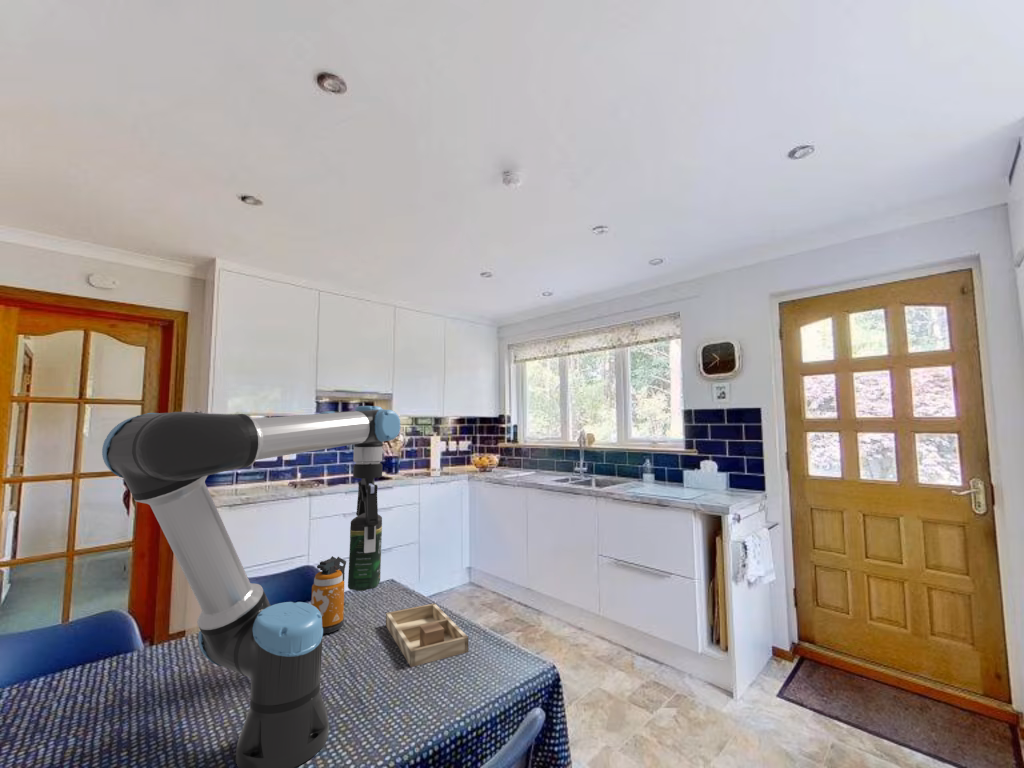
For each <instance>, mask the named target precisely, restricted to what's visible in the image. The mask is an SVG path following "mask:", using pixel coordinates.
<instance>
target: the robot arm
mask: <svg viewBox="0 0 1024 768" xmlns="http://www.w3.org/2000/svg"><path fill="white" fill-rule="evenodd" d="M400 431H401V418H400V417H399V415H398V413H397V412H396V411H394V410H392V409H383V408H382V407H381V406H378V405H359V406H356V407H355V409H354V410H353V411H349V410H348V411H334V410H331V411H328V410H327V411H322V412H320V413H316V414H304V415H303V414H301V415H285V416H273V417H272V416H271V417H259V418H258V417H257V418H253V417H252V416H250V415H249V414H246V413H234V414H233V413H232V414H231V413H230V414H228V413H227V414H226V413H225V414H223V413H222V414H220V413H206V412H194V411H193V412H192V411H172V412H160V413H159V412H147V413H144V414H139V415H135V416H131V417H130V418H127V419H125V420H123V421H121V422H120V423H118V424H116V425H115V426H114V427H113V428H112V429H111V430H110V431H109V432H108V433H107V435H106V437H105V440H104V442H103V444H102V450H101V455H102V460H103V462H104V464H105V466H106V467H107V469H108V470H109V471H111V473H113V474H114V475H116V476H117V477H119V478H122V479H123V480H124V483H125V484H126V486H127V488H128V490H129V493H131V496H132V498H133V499H134V501H135V503H136V502H138V503H142V504H147V505H149V506H150V508H151V510H152V512H153V514H154V517H155V518H156V520H157V522H158V524H159V526H160V529H161V531H162V532H163V535H164V537H165V538H166V540H167V541H166V542H167V543H168V545H169V547H170V549H171V550H172V553H173V554H174V556H175V558H176V561H177V563H178V565H179V566H180V568H181V571H182V572H183V575H184V577H185V579H186V581H187V583H188V585H189V586H190V589H191V591H192V593H193V594H194V597H195V599H196V601H197V603H198V605H199V607H200V609H201V612H200V614H199V615H198V618H197V626H198V628H199V630H200V631H198V638H197V639H198V646H199V649H200V651H201V653H202V655H203V656H204V657H205V658H206V659H207V660H208V661H209V662H210V663H212V664H214V665H215V666H218V667H222V668H225V669H229V670H231V671H232V672H234V673H235V672H236V673H238V674H240V675H243V676H245V677H247V678H249V679H250V698H249V700H250V701H249V709H248V713H247V715H246V718H245V721H244V724H243V727H242V729H241V731H240V734H239V737H238V740H237V743H236V750H235V764H237V765H236V767H237V766H238V767H239V768H296V767H298V766H300V765H301V764H305V762H307V761H308V760H310V759H311V758H313V757H314V756H315V755H317V754H318V753H319V752H320V751H321V749H322V748H323V747H324V746H325V744H326V743H327V741H328V738H329V733H330V731H329V727H330V721H329V716H328V713H327V710H326V706H325V704H324V700H323V697H322V694H321V693H322V692H321V677H322V676H321V674H322V672H321V671H322V656H323V655H322V654H323V653H322V651H323V637H324V634H323V628H322V616H321V613H320V611H319V610H318V609H317V608H316V607H315V606H313V605H311V603H308V602H303V601H297V602H294V601H286V602H285V601H284V602H279V603H275V604H272V605H271V603H270V601H269V598H268V597H267V594H266V592H265V590H264V588H263V587H262V585H261V584H259V583H252V582H250V579H249V578H248V575H247V573H246V571H245V568H244V566H243V563H242V562H241V559H240V557H239V555H238V552H237V551H236V548H235V546H234V544H233V542H232V540H231V537H230V535H229V533H228V531H227V529H226V526H225V524H224V521H223V519H222V517H221V515H220V513H219V511H218V509H217V506H216V504H215V502H214V500H213V498H212V495H211V493H210V490H209V489H208V486H207V484H206V480H207V478H208V477H209V476H210V475H215V474H219V473H223V472H224V473H225V472H228V471H233V470H238V469H243V468H249V467H250V466H252V465H253V464H254V463H255V462H256V461H257V460H263V459H270V458H276V457H281V456H283V457H284V456H288V455H294V454H295V455H296V454H301V453H302V454H303V453H308V452H313V451H321V450H326V449H327V450H328V449H334V448H339V447H345V446H352V445H353V462H354V463H355V464H354V465H353V469H352V471H353V472H352V473H353V474H352V476H353V478H354V479H361V480H359V481H358V483H357V486H358V489H357V490H358V491H357V501H356V502H357V503H356V504H357V505H356V514H355V515H356V517H357V516H359V515H361V514H362V513H365V520H366V524H363V527H365V530H364V553H369V552H375V545H376V524H378V515H379V514H378V513H379V512H378V509H379V508H378V507H379V506H378V487H379V486H378V484H375V479H378V478H381V477H382V476H383V464H382V463H381V462H383V454H385V452H386V451H385V450H384V449H383V446H384V442H386V441H387V442H390V441H393V440H395V439H396V438H398V435H399V434H400ZM238 767H237V768H238Z"/></svg>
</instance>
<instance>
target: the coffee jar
mask: <svg viewBox="0 0 1024 768" xmlns="http://www.w3.org/2000/svg"><path fill="white" fill-rule="evenodd" d="M363 524H366V520H365V513H362V514H361V515H359V516H357V515H356V517H354V518H353V519H351V521H350V527H349V532H350V533H349V556H348V558H349V559H348V575H347V577H348V578H347V587H348V590H350V591H351V590H352V591H355V592H364V591H367V590H371V589H372V590H373V589H376V588H377V587H378V586H379V585H380V582H381V568H382V567H381V566H382V565H381V564H382V563H381V561H382V535H383V534H382V532H383V516H381V514H378V524H376V545H375V552H369V553H364V530H365V527H363Z"/></svg>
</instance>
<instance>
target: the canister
mask: <svg viewBox="0 0 1024 768" xmlns="http://www.w3.org/2000/svg"><path fill="white" fill-rule="evenodd" d="M340 564H342V565H340ZM346 565H347V561H346V560H345V559H343V558H341V557H339V556H337V557H335V556H331V557H330V558H328V559H326V560H323V561H322V560H321V561H320V562H319V564H317V566H316V568H317V570H318V569H319V572H317V573H316V574H315V576H314V578H313V584H312V585H311V598H310V599H311V601H310V602H311V603H310V604H311V605H313V606H315V607H316V608H317V609H318V610H319V611H320V613H321V616H322V628H323V635H327V634H331V633H334V632H335V631H337V630H340V629H341V628H343V626H344V613H345V610H344V608H345V605H346V604H345V570H346V569H345V568H346ZM326 633H327V634H326Z"/></svg>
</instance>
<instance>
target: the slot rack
mask: <svg viewBox="0 0 1024 768" xmlns="http://www.w3.org/2000/svg"><path fill="white" fill-rule="evenodd" d="M435 622H438V623H439V624H440V625H441V626H442V627H443V628H444V642H440V643H436V644H432V645H427V646H423V647H420V626H422V625H426V624H431V623H435ZM385 627H386V628H387V630H388V633H390V635H391V636H392V638H393V641H394V643H396V645H397V646H398V649H399V650H400V652H401V653H402V655H403V656H404V658H405V660H406V662H407V663H408V665H409V666H410V668H414V667H417V666H421V665H424V664H428V663H432V662H435V661H439V660H443V659H447V658H450V657H451V658H452V657H454V656H458V655H463V654H465V653H469V636H468V635H467V634H466V633H465V632H464V631H463V630H462V629H461V627H459V626H458V625H457V624H456V623H455V622H454V621H453V620H452V619H451V618H450V617H449V616H448V615H447V614H446V613H445V612H444V611H443V610H442V609H441V608H440V607H439V606H438V605H437V604H436V603H429V604H424V605H420V606H414V607H409V608H404V609H399V610H394V611H389V612H386V613H385Z"/></svg>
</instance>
